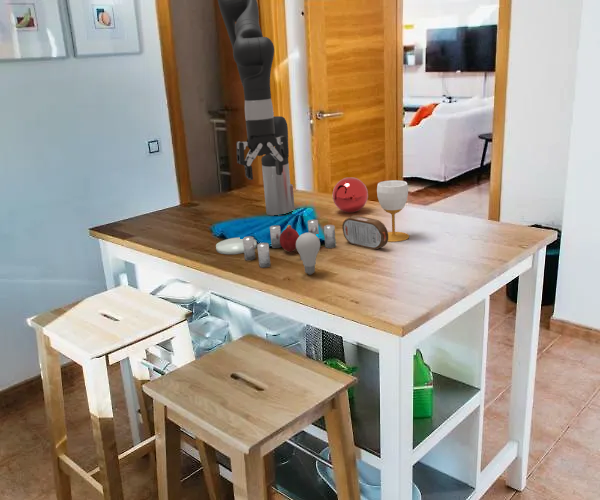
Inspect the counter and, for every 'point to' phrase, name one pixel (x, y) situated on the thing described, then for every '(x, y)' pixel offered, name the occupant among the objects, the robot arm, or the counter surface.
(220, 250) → the dish
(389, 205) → the cup
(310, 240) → the lightbulb
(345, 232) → the tin
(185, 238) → the counter surface
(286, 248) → the onion
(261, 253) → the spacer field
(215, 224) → the counter surface
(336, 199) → the ball
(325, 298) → the counter surface
